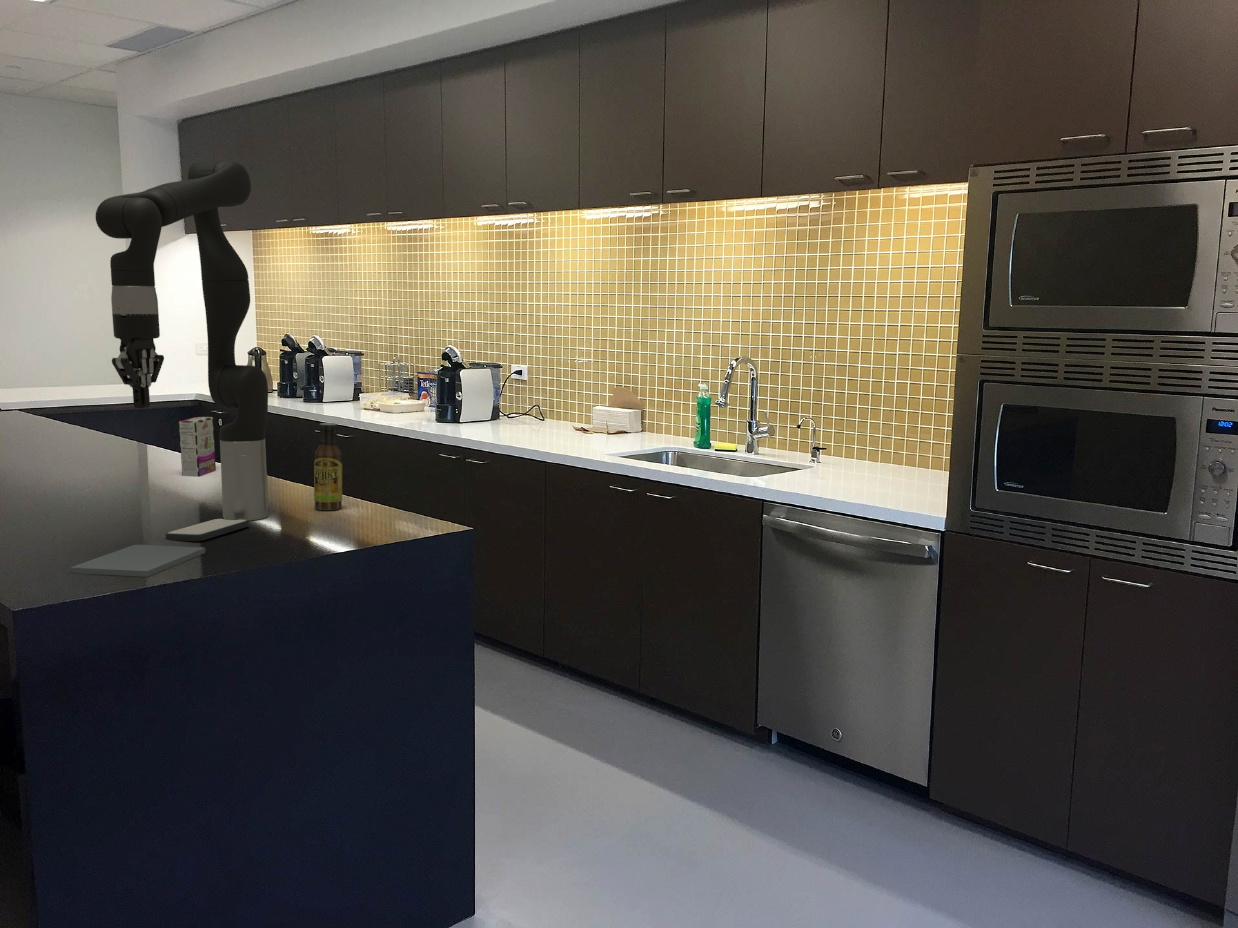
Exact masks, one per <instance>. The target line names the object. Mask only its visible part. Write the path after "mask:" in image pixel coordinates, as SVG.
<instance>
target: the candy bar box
mask: <svg viewBox="0 0 1238 928" xmlns="http://www.w3.org/2000/svg"><path fill="white" fill-rule="evenodd" d="M178 428H179V429H178V430H179V445H180V458H181V474H182V477H193V478H196V477H197V478H198V477H203V476H205V475H209V474H211V473H213V472H215V471H216V470H217V466H216V450H215V434H214V433H215V432H214V417H212V416H198V417H197V416H195V417H192V418H187V419H183V420H179V421H178Z"/></svg>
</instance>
